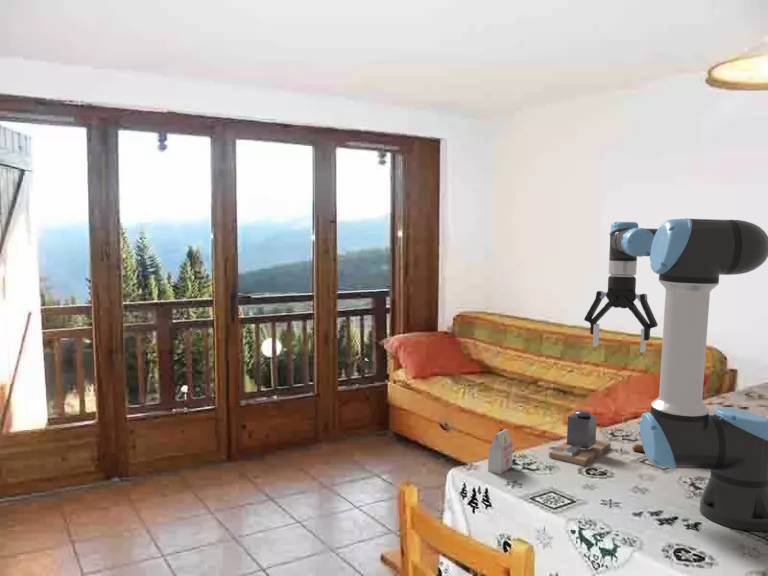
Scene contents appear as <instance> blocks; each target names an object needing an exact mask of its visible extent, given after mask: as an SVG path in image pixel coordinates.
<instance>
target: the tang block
mask: <svg viewBox="0 0 768 576" xmlns="http://www.w3.org/2000/svg"><path fill="white" fill-rule="evenodd" d="M611 444H612V443H611V442H608V441H604V440H598V439H596V444H594V445H593V446H591V447H590V448H588V449H586V448H581V447H576V446H572V445H567V441H566V442H565V443H563V444H561V445H560V446H558V447H556V448H553V450H552V449H551V451H550V452H549V453H548V458H549V459H554V460H558V461H562V462H566V463H570V464H575V465H579V466H584V467H585V466H587V465H588V464H589V463H591V462H593V461H594V460H595V459H596V458H599V457H600V455H603V454H604V453H606V452H607V451H609V450H610V449H611Z"/></svg>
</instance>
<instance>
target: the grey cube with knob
mask: <svg viewBox="0 0 768 576" xmlns="http://www.w3.org/2000/svg"><path fill="white" fill-rule="evenodd" d="M573 412H574V413H572V414H570V415H568V416H567V429H566V430H567V431H566V442H567V445H572V446H576V447H581V448H586V449H588V448H590V447H591V446H593V445H594V444H596V440H597V439H596V438H597V422H598V421H597V419H598V418H597V415H594V414H592V413H591V412H590V411H589V410H583V409H576V410H574V411H573Z"/></svg>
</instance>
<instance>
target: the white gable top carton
mask: <svg viewBox="0 0 768 576" xmlns="http://www.w3.org/2000/svg"><path fill="white" fill-rule="evenodd" d="M513 447H514V445H513V442H512V439H511V437H510V433H509V429H508V428H505V429H503V430H502V431H499V432H497V433H495V434H494V438H493V441H492V442H491V444H490V446H489V447H488V456H487V457H488V459H487V460H488V461H487V463H488V465H487V471H488V472H489V473H495V474H499V475H502V474H504V473H505V472H507V471H508V470H510V469H511V468H512V467H513V453H514V451H513V450H514V449H513Z"/></svg>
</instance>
